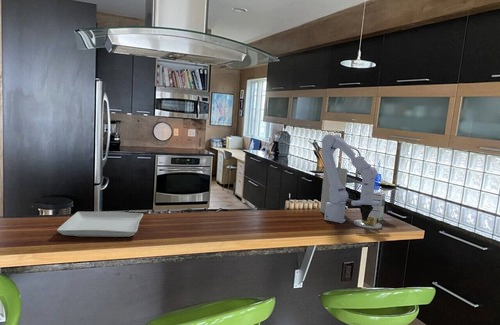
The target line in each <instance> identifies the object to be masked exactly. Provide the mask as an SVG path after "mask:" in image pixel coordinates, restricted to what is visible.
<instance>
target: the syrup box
mask: <svg viewBox="0 0 500 325" xmlns="http://www.w3.org/2000/svg"><path fill="white" fill-rule="evenodd" d="M373 201H376V202H381V206H372V207H373V210H372V211H371V212H370V214H369V216H368V217H370V216H371V217H375V218H379V219H378V222H380V221H382V220H383V219H384V213H385V201H386V193H385V192H382V191H374V194H373Z"/></svg>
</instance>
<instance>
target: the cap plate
mask: <svg viewBox="0 0 500 325" xmlns="http://www.w3.org/2000/svg"><path fill="white" fill-rule="evenodd" d="M378 219H379V218H377V222H376V226H373V225H371V224H366V223H363V222H362V219H354V221H353V225H355V227H356V226H357V227H358V228H362V229H367V230H381V229H382V228H383V227H382V226H383V225H382V224H381V223H380V222H379V221H378Z"/></svg>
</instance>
